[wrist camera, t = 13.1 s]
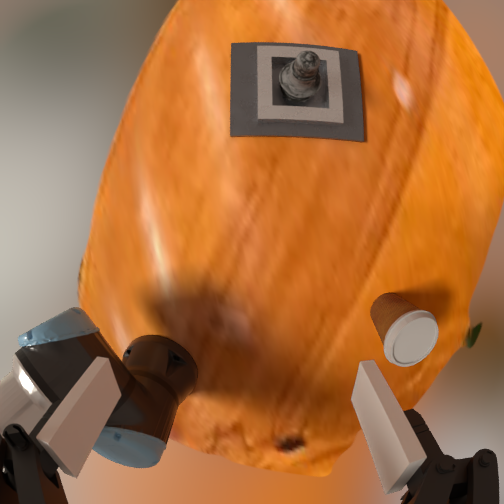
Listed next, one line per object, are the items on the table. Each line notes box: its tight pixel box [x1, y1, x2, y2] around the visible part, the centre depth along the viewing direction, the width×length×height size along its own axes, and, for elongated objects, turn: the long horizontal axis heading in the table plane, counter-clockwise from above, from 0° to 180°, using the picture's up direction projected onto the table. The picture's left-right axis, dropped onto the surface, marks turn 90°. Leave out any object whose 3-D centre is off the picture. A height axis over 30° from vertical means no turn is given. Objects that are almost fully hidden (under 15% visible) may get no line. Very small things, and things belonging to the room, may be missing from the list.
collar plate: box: [230, 42, 364, 142], centre depth 35 cm, size 20×16×4 cm
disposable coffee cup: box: [370, 293, 438, 367], centre depth 39 cm, size 10×10×12 cm
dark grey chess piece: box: [279, 50, 322, 103], centre depth 30 cm, size 6×6×12 cm
